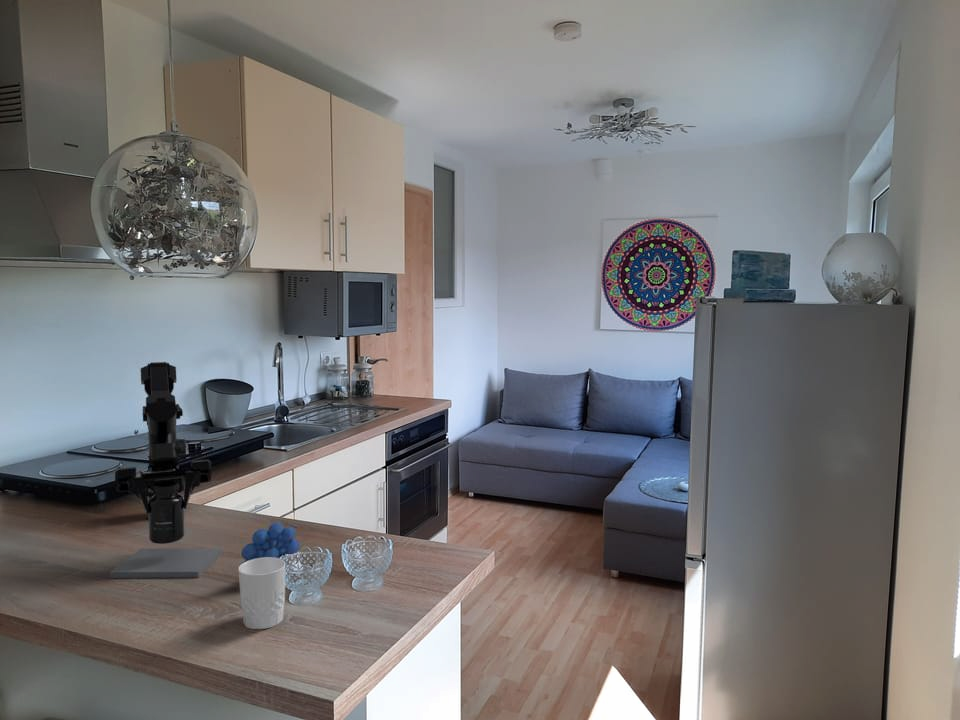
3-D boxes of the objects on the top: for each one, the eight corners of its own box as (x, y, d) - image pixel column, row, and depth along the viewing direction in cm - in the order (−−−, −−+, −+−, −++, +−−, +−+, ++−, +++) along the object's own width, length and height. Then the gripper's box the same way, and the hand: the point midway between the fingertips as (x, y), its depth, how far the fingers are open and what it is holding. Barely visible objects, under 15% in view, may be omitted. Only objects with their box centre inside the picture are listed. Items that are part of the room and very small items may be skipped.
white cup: (293, 610, 120) (291, 557, 120) (278, 632, 113) (276, 575, 112) (250, 609, 121) (248, 556, 120) (232, 631, 113) (230, 574, 112)
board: (109, 577, 135) (109, 572, 135) (141, 553, 148) (141, 548, 147) (198, 577, 135) (198, 571, 135) (222, 553, 148) (222, 548, 148)
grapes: (294, 568, 139) (293, 512, 138) (303, 579, 134) (302, 522, 133) (236, 580, 133) (234, 522, 132) (243, 593, 128) (241, 532, 127)
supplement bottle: (158, 547, 136) (155, 490, 135) (143, 539, 140) (141, 484, 139) (190, 538, 141) (188, 483, 140) (175, 530, 146) (173, 477, 145)
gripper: (113, 431, 138) (113, 497, 129) (209, 423, 146) (215, 485, 138) (116, 459, 146) (116, 523, 137) (207, 451, 154) (213, 511, 145)
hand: (166, 510), depth 139 cm, fingers closed on supplement bottle, 7 cm apart
